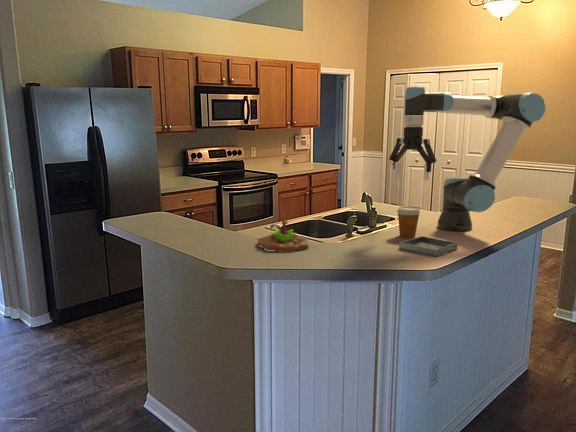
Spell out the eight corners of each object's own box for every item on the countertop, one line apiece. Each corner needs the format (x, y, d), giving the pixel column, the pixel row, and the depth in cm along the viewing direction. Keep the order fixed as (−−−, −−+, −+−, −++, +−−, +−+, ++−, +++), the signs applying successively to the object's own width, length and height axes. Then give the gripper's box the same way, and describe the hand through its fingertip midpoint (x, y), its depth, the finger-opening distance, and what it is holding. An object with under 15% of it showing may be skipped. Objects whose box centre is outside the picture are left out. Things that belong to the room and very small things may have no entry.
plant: (264, 255, 177) (264, 225, 175) (253, 242, 195) (253, 215, 193) (316, 250, 182) (316, 222, 180) (300, 238, 201) (300, 212, 198)
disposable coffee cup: (419, 234, 207) (420, 207, 204) (418, 239, 198) (420, 211, 195) (396, 233, 209) (397, 205, 207) (395, 238, 200) (396, 209, 198)
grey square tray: (421, 241, 194) (421, 235, 194) (457, 249, 183) (457, 242, 182) (399, 248, 184) (399, 242, 183) (436, 257, 172) (436, 250, 172)
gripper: (382, 126, 200) (380, 177, 204) (437, 126, 182) (434, 182, 187) (392, 126, 205) (390, 175, 209) (446, 126, 188) (443, 180, 192)
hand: (411, 178), depth 198 cm, fingers open, 13 cm apart
